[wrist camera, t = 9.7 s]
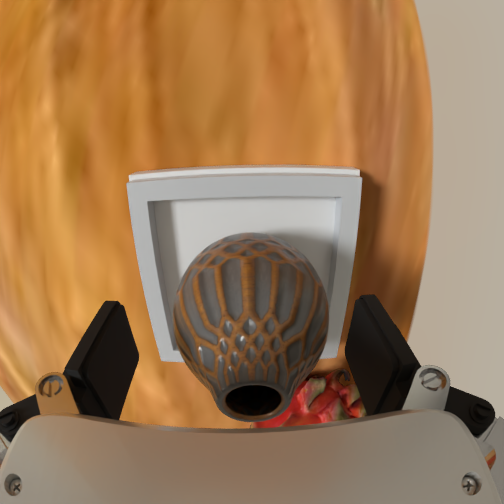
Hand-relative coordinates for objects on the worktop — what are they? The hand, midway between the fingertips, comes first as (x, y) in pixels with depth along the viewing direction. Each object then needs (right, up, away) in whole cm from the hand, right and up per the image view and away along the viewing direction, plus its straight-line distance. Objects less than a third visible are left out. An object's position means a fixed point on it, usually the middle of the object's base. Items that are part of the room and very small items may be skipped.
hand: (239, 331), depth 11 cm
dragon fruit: (+5, -9, +12) cm, 15 cm away
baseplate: (0, +2, +6) cm, 7 cm away
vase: (0, +2, +5) cm, 6 cm away
